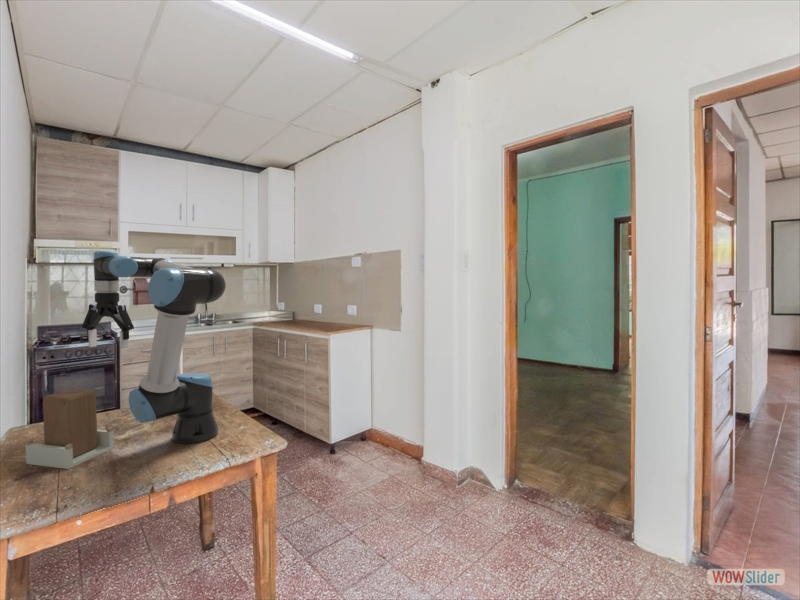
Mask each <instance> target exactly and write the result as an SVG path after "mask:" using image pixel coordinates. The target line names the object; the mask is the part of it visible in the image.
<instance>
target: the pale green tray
mask: <svg viewBox="0 0 800 600" xmlns="http://www.w3.org/2000/svg"><path fill="white" fill-rule="evenodd" d="M114 444H115V443H114V427H111V426H110V427H108V428H106V429H101V428H100V429H99V428H97V447H96V448H94V449H92V450H90V451H87V452H85V453H83V454H81V455H78V456H76V457H74V458H73V445H72V444H68V445H66V446H65V447H61V446H52V445H45V444H41V443H35V442H34V439H29V440H26V441H25V464H26V465H34V466H39V467H40V466H41V467H49V468H57V469H67V470H69V469H72V468H74V467H76V466H78V465H80V464H83V463H84V462H86V461H89V460H91V459H93V458H95V457H97V456H100V455H102V454H103V453H105V452H108V451H110V450H112V449H114V448H115V446H114Z"/></svg>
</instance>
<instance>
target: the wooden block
mask: <svg viewBox="0 0 800 600" xmlns="http://www.w3.org/2000/svg"><path fill="white" fill-rule="evenodd" d="M42 409H43V412H42V413H43V434H44V437H43V438H44V445H52V446H61V447H65V446H66V445H68V444H72V445H73V458H74V457H76V456H78V455H81V454H83V453H85V452H87V451H90V450H92V449H94V448H96V447H97V429H98V422H97V420H98V418H97V392H96V391H95V390H94V389H93V390H92V389H81V388H70V389H65V390H62V391H58V392H55V393H51V394H48V395H45V396H43V397H42Z"/></svg>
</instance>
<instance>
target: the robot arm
mask: <svg viewBox="0 0 800 600" xmlns="http://www.w3.org/2000/svg"><path fill="white" fill-rule="evenodd" d="M93 276H94V277H93V278H94V279H93V280H94V282H93V283H94V292H95V293H94V302H95V303H90V304H89V305H88V311H87V313H86V315H85V318H84V320H83V323H82V325H81V328H82V329H86V332H87V339H88V348H92V347H97V346H98V335H97V333H98V332H97V331H98V330H97V328H96V327H97V326H98V324H99V323H100V322H101V320H102V319H103V318H104V317H108V318H109V317H110V318H112V319H113V321H114V322H115V323H116V325H117V326H118V327H119V329H120V331H119V345H120V346H119V347H120V349H121V350H123V349H128V348H129V340H130V331H131V330H134V329H135V327H134V324H133V322H132V319H131V317H130V315H129V314H128V311H127V305H125V304H120V305H119V302H120V293H119V291H120V287H119V286H120V283H119V282H120V278H150V280H149V283H148V286H147V292H148V294H147V295H148V299H149V302H150V303H151V304H152V305H153V308H154V309H155V311H156V312H158V313H157V318H156V323H155V329H154V335H153V339H152V343H151V349H150V355H149V360H148V367H147V370H146V371H147V372H146V375H145V376H143V377H142V378H141V379H140V381H139V385H138V388H134V389H132V390H130V392H129V394H128V405H129V408H130V411H131V413H132V415H133V417H134V419H136V421H137V422H139V423H142V424H146V423H150V422H155V421H157V420H161V419H164V418H168V417H171V416H174V415H177V418H176V421H175V423H174V427H173V430H172V433H171V434H172V435H171V436H172V437H171V438H172V441H173V442H174V443H177V444H195V443H201V442H202V443H203V442H204V441H209V440H210V439H213V438H215V437H216V436H217V435H218V434H219V425H218V423H217V421H216V419H215V416H214V413H213V411H214V409H213V405H214V404H213V387H214V386H213V379H212V376H211V375H209V374H206V373H197V372H196V373H194V372H188V373H180V374H178V369H179V363H180V361H181V354H182V351H183V350H182V349H183V345H184V340H185V335H186V330H187V326H188V321H189V316H191V315H194V314H195V312H196V308H197V305H199V304H201V305H202V304H210V303H213V302H215V301H217V300H219V299H220V298H221V297H222V296H223V295H224V293H225V291H226V279H225V277H224V276H223V274H221V272H219V271H217V270H215V269H211V268H203V267H202V268H194V267H192V266H188V265H183V264H180V263H175V262H173V261H172V260H171V259H169V258H164V257H143V256H142V257H141V256H139V257H138V256H137V257H136V256H126V255H124V256H123V255H119V253H118V252H117V251H107V250H96V251H94V252H93Z"/></svg>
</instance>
